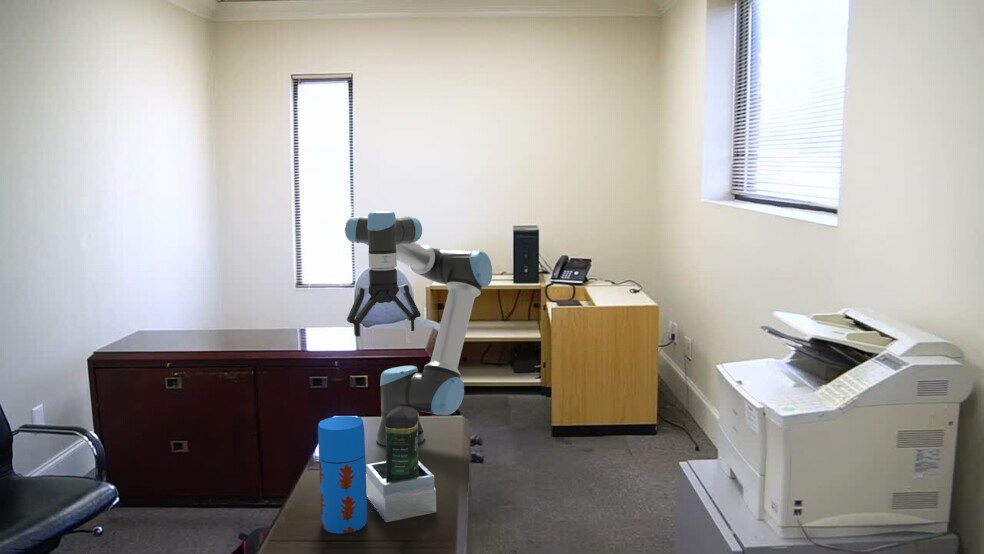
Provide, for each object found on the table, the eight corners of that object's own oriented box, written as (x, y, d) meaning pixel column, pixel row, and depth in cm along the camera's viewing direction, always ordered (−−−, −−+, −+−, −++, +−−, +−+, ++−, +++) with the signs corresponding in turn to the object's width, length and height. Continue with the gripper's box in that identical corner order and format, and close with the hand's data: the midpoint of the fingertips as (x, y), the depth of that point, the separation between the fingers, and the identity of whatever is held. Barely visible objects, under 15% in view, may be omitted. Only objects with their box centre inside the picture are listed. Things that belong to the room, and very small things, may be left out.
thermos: (326, 537, 176) (322, 432, 173) (317, 518, 186) (313, 419, 183) (372, 528, 181) (369, 426, 177) (361, 510, 190) (358, 413, 187)
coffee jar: (415, 488, 189) (413, 415, 186) (383, 487, 189) (381, 414, 187) (421, 473, 198) (420, 404, 196) (391, 472, 199) (390, 403, 197)
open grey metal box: (413, 487, 204) (412, 455, 203) (436, 512, 189) (435, 477, 188) (366, 496, 199) (365, 463, 198) (385, 522, 184) (384, 486, 183)
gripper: (340, 272, 199) (343, 352, 201) (430, 267, 209) (432, 343, 212) (334, 269, 205) (336, 347, 208) (421, 264, 216) (423, 338, 218)
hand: (385, 345), depth 210 cm, fingers open, 13 cm apart
